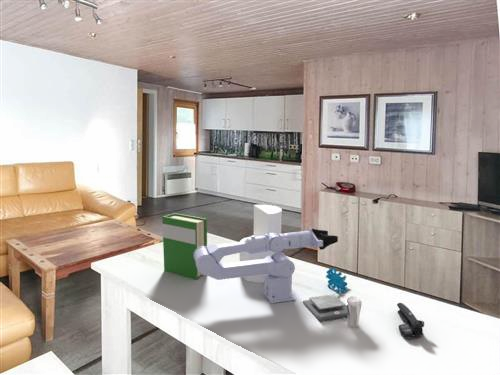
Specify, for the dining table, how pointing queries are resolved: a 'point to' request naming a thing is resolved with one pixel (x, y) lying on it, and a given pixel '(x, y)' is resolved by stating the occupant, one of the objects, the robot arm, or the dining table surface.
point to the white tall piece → (263, 233)
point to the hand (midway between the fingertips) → (332, 236)
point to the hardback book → (183, 243)
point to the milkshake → (353, 311)
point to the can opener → (409, 323)
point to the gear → (336, 280)
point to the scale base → (326, 312)
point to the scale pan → (327, 302)
